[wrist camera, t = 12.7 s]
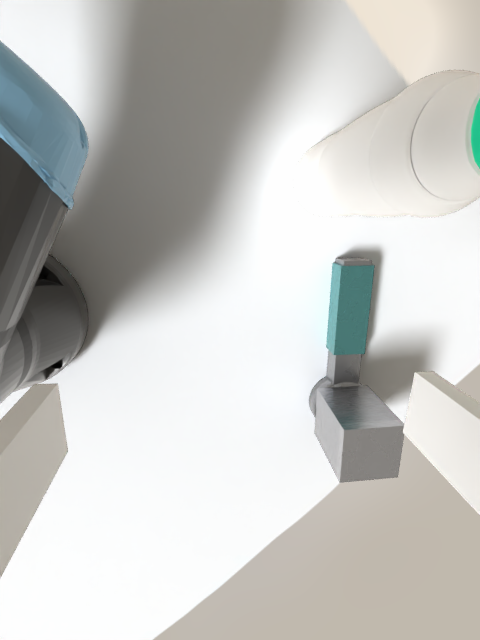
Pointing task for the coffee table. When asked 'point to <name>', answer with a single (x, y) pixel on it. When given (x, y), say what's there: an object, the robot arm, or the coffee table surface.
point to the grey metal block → (358, 433)
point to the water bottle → (401, 155)
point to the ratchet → (346, 323)
